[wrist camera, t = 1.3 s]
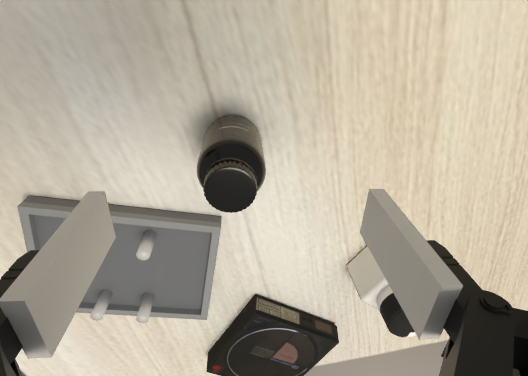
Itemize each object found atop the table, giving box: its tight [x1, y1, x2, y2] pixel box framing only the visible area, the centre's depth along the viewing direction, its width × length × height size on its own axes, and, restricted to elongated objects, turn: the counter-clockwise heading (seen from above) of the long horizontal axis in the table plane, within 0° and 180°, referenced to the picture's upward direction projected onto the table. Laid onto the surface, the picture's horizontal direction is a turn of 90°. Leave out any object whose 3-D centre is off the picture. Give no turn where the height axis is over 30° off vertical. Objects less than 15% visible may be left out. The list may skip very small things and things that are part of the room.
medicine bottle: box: [347, 246, 416, 337], centre depth 45 cm, size 7×7×12 cm
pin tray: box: [18, 196, 221, 323], centre depth 44 cm, size 24×18×6 cm
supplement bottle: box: [197, 116, 266, 213], centre depth 33 cm, size 7×7×12 cm
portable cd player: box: [207, 295, 339, 376], centre depth 56 cm, size 16×17×4 cm
